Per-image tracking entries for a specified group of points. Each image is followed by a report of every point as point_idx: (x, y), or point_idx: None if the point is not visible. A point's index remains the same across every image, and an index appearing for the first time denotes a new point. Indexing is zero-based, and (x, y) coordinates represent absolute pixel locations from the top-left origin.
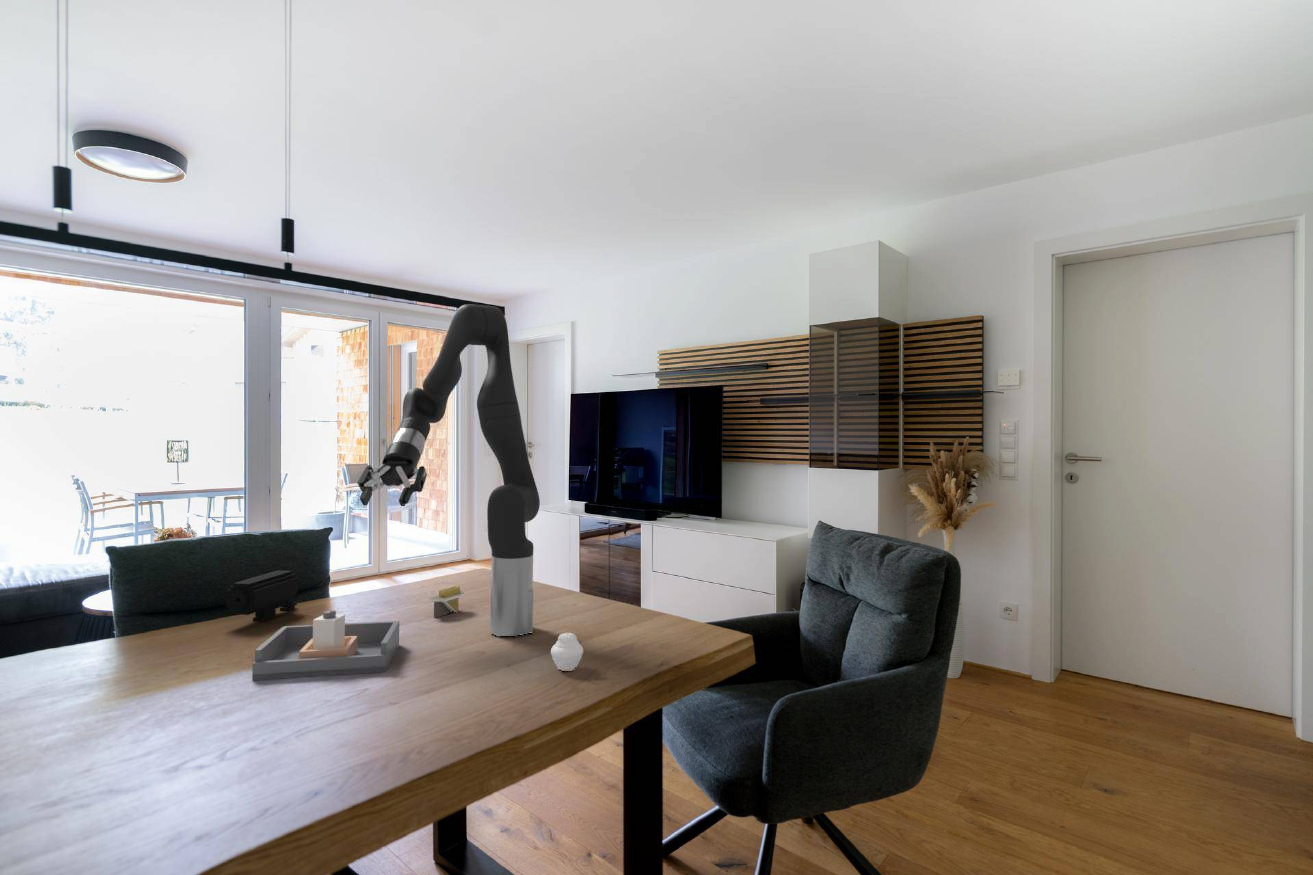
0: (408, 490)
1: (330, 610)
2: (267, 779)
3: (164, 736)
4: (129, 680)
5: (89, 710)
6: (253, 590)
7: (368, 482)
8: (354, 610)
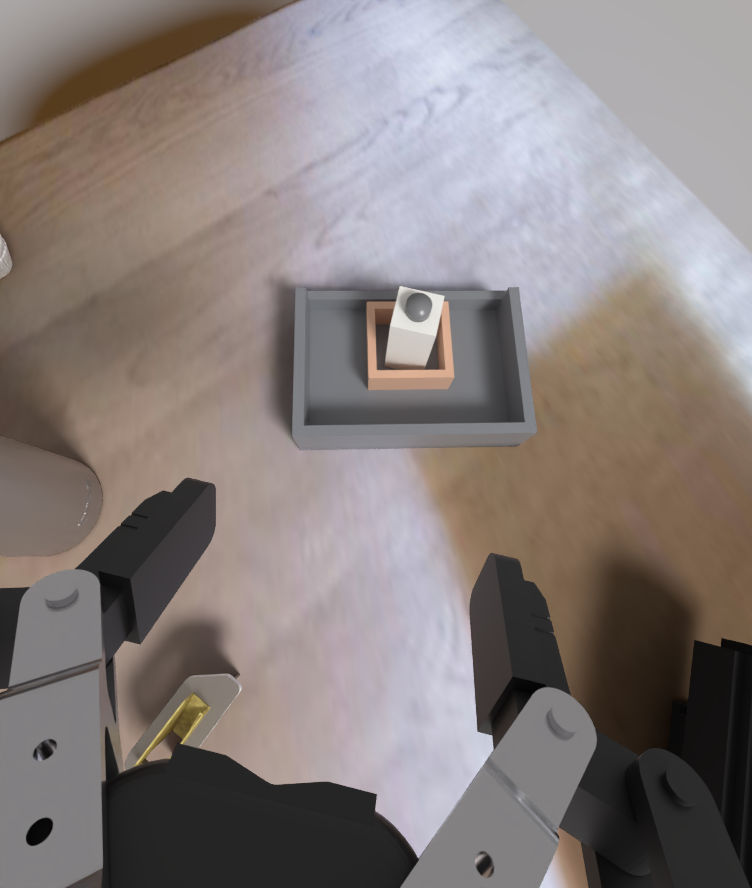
0: (94, 564)
1: (420, 315)
2: (365, 58)
3: (515, 156)
4: (687, 339)
5: (657, 240)
6: (744, 660)
7: (563, 760)
8: None
